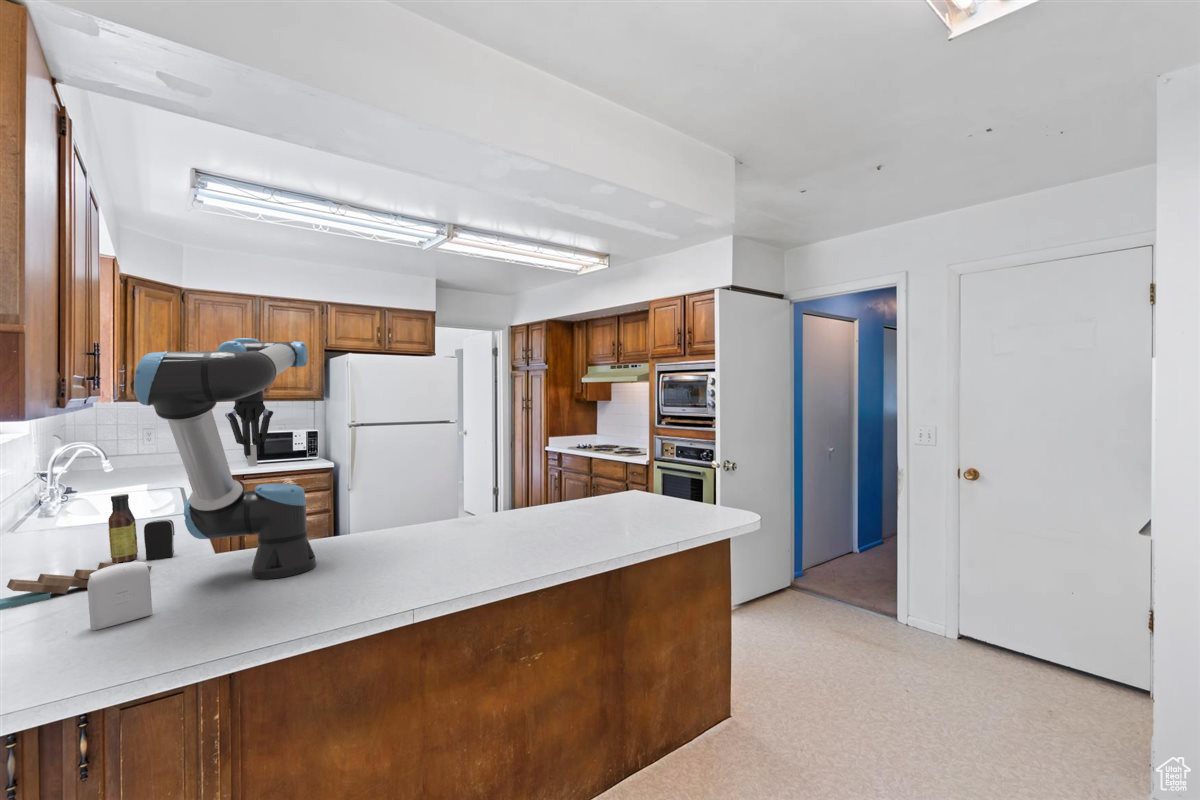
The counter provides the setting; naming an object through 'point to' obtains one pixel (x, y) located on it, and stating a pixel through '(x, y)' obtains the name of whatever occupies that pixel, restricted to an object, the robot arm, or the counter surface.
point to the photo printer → (119, 594)
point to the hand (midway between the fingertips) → (252, 466)
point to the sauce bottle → (122, 530)
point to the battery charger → (159, 539)
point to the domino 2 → (22, 599)
